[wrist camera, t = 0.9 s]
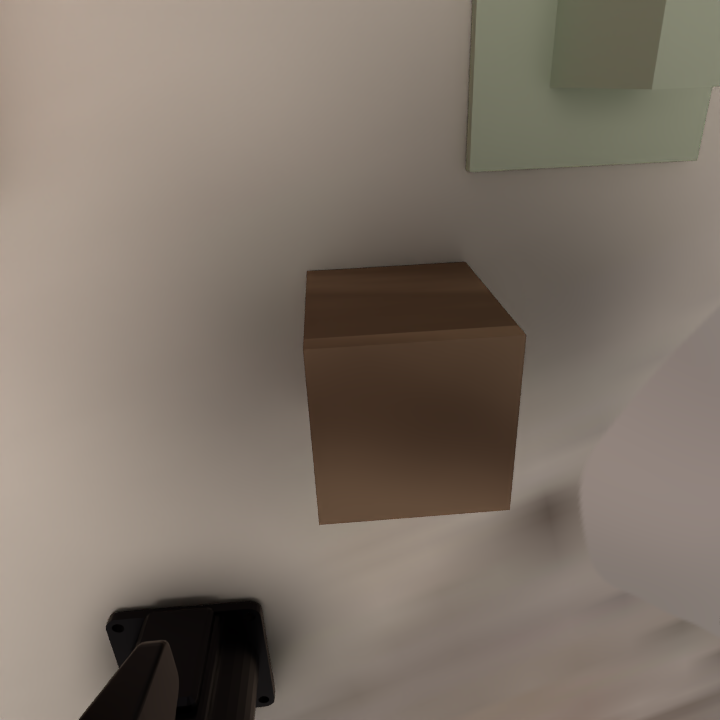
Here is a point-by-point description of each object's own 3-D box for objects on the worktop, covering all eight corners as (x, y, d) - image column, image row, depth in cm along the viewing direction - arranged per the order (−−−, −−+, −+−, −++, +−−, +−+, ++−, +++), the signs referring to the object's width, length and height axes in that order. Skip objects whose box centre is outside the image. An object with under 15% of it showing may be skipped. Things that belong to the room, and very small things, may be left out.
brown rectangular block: (459, 399, 21) (509, 510, 16) (318, 409, 21) (319, 524, 15) (465, 261, 19) (526, 335, 13) (307, 271, 19) (303, 349, 13)
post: (687, 158, 18) (847, 191, 12) (465, 170, 18) (532, 208, 12) (744, -127, 15) (988, -246, 9) (476, -119, 14) (572, -238, 9)
